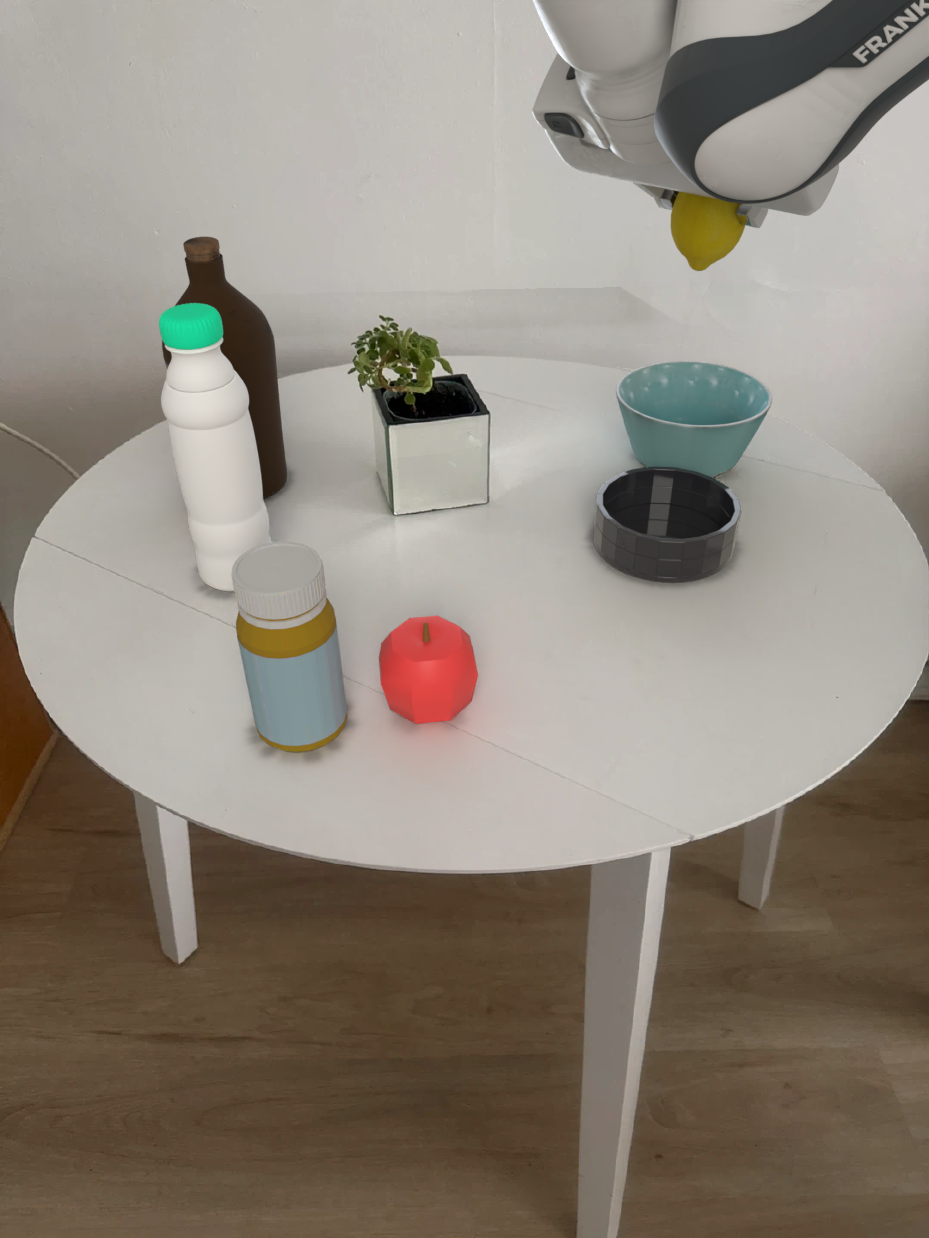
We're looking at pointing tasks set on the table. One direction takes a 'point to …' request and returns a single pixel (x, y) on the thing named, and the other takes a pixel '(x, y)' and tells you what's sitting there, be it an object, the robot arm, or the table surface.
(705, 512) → the pan
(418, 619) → the apple
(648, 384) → the bowl
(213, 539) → the water bottle
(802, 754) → the table surface
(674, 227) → the fruit
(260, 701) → the bottle
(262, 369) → the olive oil
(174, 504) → the table surface
